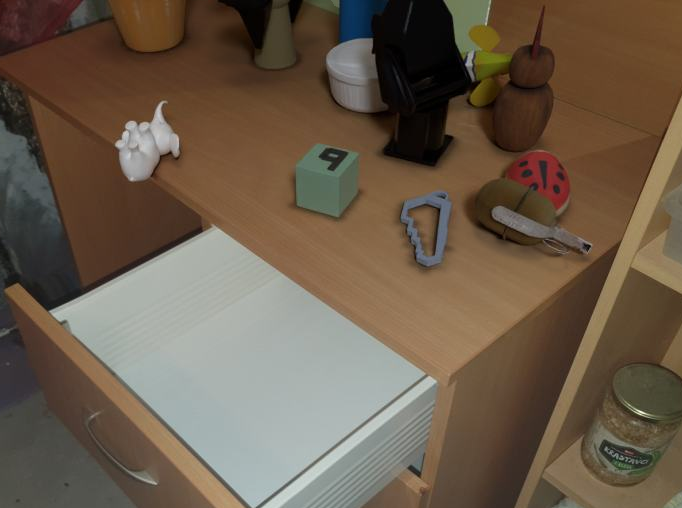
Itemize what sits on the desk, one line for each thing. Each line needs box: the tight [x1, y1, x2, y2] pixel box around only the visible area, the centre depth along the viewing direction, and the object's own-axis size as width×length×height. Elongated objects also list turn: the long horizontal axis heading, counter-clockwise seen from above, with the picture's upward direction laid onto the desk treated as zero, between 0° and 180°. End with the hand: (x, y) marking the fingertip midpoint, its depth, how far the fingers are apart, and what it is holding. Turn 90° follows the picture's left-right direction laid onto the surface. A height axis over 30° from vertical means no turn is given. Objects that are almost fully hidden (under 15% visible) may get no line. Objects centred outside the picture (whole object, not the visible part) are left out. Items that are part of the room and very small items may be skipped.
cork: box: [253, 0, 298, 70], centre depth 99 cm, size 6×6×11 cm
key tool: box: [400, 190, 453, 267], centre depth 74 cm, size 12×1×5 cm
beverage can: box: [338, 0, 388, 45], centre depth 98 cm, size 6×6×12 cm
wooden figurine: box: [491, 5, 556, 153], centre depth 79 cm, size 7×6×15 cm
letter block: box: [294, 142, 360, 218], centre depth 77 cm, size 5×5×5 cm
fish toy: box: [428, 24, 513, 107], centre depth 92 cm, size 15×10×12 cm
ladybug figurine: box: [504, 149, 571, 217], centre depth 76 cm, size 7×10×4 cm
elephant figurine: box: [114, 100, 181, 183], centre depth 83 cm, size 7×12×6 cm, turn 161°
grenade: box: [474, 177, 593, 256], centre depth 71 cm, size 6×6×12 cm
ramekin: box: [325, 38, 388, 114], centre depth 92 cm, size 11×11×5 cm
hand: (274, 35), depth 101 cm, fingers open, 9 cm apart
